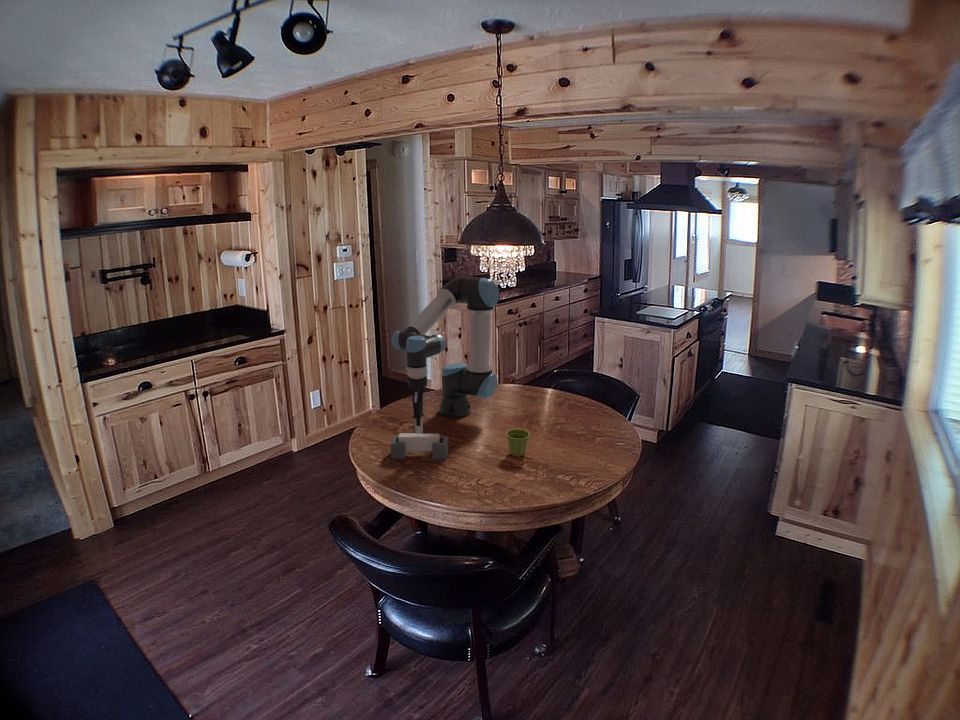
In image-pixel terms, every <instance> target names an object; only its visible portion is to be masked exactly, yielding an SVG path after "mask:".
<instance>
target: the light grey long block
mask: <svg viewBox="0 0 960 720" xmlns="http://www.w3.org/2000/svg"><path fill="white" fill-rule="evenodd" d="M398 435H399V436H398V442H405V451H408V452H432V443H440V436H441V435H440V433H415V432H414V433H412V432H411V433H407V432H405V433H403V432H402V433H400V432H399V433H398Z"/></svg>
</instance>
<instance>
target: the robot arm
mask: <svg viewBox="0 0 960 720" xmlns="http://www.w3.org/2000/svg"><path fill="white" fill-rule="evenodd" d="M499 290H500V289H499V287H498V284H497V283H496V282H495V280H492V279H490V278H486V277H475V276H474V277H472V276H466V275H465V276H463V275H462V276H457V277H455V278H453V279H451V280H450V281H448V282H447V283H445V284H444V285H443V286H442V287H441V288H439V289H438V290H437V293H436V296H435V297H434V298H433V299H432V301H430V302H429V303H428V304H427V305H426V306H425V308H424V309H423V310H422V311H421V312H419V314H418V315H417V316H416V317H415V318H414V319H413V321H412V322H410V323H409V325H408V326H406V328H405V329H404V330H397V331H395V332H393V334H392V336H391V345H392V346H393V348H394V349H397V350H400V351H404V352H406V368H405V371H407V373H406V374H407V386H408V387H409V388H410V389H411V388H412V391H411V395H412V398H411V401H412V407H413V416H412V419H414V429H415V430H414V431H415V432H414V433H416V434H423V430H424V427H423V425H424V424H423V417H424V416H425V413H423V412H424V408H423V407H424V406H423V405H424V388H426V387H427V386H428V376H427V375H428V365H427V361H428V358H430V357H433V356H435V355H439V354H440V353H442V352H443V351H445V349H446V347H447V342H446V339H445V337H444V336H442V335H441V334H438V333H436V334H432V335H426V334H427V333H428V332H430V330H431V329H432V328H433V326H435V324H436V323H437V322H438V321H439V320H440V319H441V318H442V317H443V315H445V313H446V312H447V311H448V310H450V308H454V307H455V306H456V305H457V304H460V303H463V304H466V309H467V311H468V312H469V313H470V319H469V320H470V322H469V323H470V325H469V327H470V330H469V331H470V332H469V333H470V335H469V336H470V337H469V338H470V341H469V343H470V344H469V348H470V349H469V356H470V358H469V365H467V363H463V362H455V363H454V362H453V363H450V364H447V365H444V366H443V367H442V368H441V392H442V393H441V394H442V395H441V400H440V402H439V406H438V413H439V414H440V415H441V416H443V417H448V418H462V417H465V416H467V415H469V414H471V412H472V406H471V403H470V401H469V397H468V395H469V396H472V397H477V398H479V399H480V398H483V399H488V398H491V397H492V395H493V394H494V393H495V391H496V389H497V386H498V377H497V375H496V374H495V372H494V373H493V366H491V364H490V339H491V338H490V337H491V336H490V330H491V329H490V328H491V325H490V324H491V322H490V321H491V317H490V316H491V313H492V311H494V307H495V306H497V304H498V302H499V299H500V291H499Z"/></svg>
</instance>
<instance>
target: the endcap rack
mask: <svg viewBox="0 0 960 720" xmlns="http://www.w3.org/2000/svg"><path fill="white" fill-rule="evenodd" d="M398 436H399V434H397V435H395V434H394V435H393V437H392V440H391V442H390V458H391V460H392V459H393V460H394V459H396V460H397V459H398V460H400V459H401V460H405V459H406V457H407V454H408V452H409V451H405V442H398ZM439 436H440V443H432V451H431V454H432V456H431V457H432V460H447V458H448V454H449V435H439Z"/></svg>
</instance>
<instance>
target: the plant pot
mask: <svg viewBox="0 0 960 720" xmlns="http://www.w3.org/2000/svg"><path fill="white" fill-rule="evenodd" d="M505 434H506V435H505V436H506V437H507V440H508V446H509V447H508V448H509V454H510V455H512V456H513V457H522V456H524V455H525V454H526V451H527V450H526V448H527V444H528V440H529V437H530V435H531V433H530V432H529V431H528V430H525V429H520V428H514V429H510V430H509V429H508V431H506V433H505Z"/></svg>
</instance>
